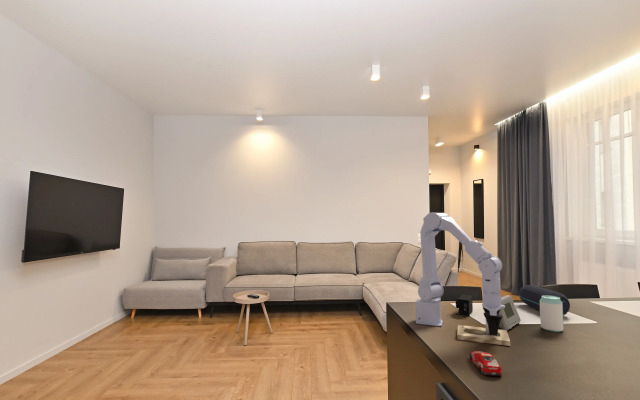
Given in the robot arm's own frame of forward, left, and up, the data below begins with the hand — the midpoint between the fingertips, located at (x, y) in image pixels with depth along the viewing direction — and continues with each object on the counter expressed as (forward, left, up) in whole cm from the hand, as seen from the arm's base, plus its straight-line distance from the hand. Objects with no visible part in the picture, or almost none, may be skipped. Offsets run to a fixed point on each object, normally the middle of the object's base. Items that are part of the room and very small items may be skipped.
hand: (492, 331), depth 117 cm
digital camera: (-10, +31, -2) cm, 33 cm away
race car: (-3, -27, -3) cm, 27 cm away
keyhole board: (-3, 0, -2) cm, 4 cm away
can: (+21, +19, -2) cm, 28 cm away
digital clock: (+6, +18, -2) cm, 19 cm away
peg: (0, 0, -2) cm, 2 cm away
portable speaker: (+23, +49, -2) cm, 55 cm away
